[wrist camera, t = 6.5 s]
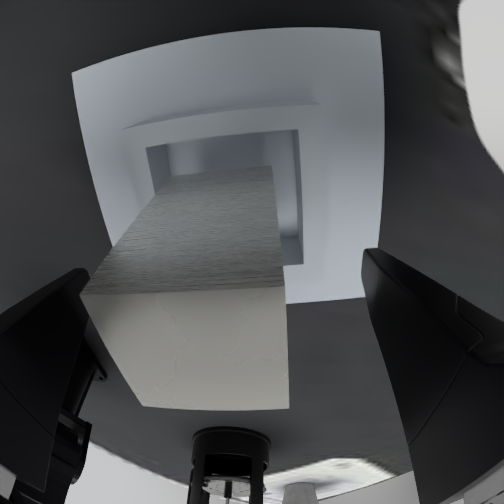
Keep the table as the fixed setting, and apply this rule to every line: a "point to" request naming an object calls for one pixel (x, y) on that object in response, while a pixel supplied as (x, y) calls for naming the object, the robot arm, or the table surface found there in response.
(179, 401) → the column
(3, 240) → the table surface
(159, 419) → the table surface
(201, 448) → the french press
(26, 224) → the table surface
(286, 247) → the stand base
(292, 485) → the house plant
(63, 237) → the table surface
